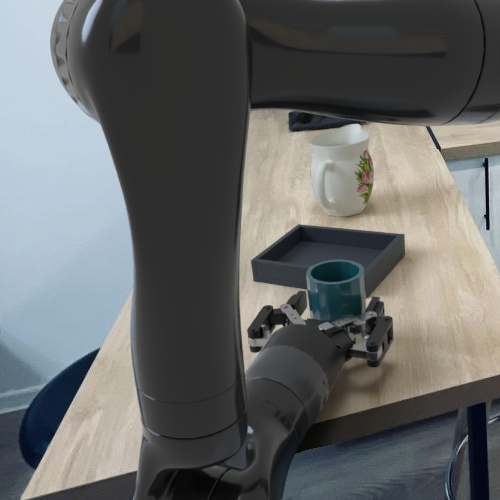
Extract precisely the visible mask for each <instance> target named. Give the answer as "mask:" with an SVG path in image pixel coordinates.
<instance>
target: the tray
mask: <svg viewBox="0 0 500 500" xmlns="http://www.w3.org/2000/svg"><path fill="white" fill-rule="evenodd" d="M405 240H406V239H405V233H395V232H386V231H385V232H384V231H375V230H364V229H354V228H353V229H352V228H341V227H333V226H332V227H331V226H323V225H322V226H321V225H310V224H301V223H298V224H296V225H295V226H294V227H292V228H291V229H290V230H288V231H287V232H286V233H285V234H284V235H282V236H281V237H280V238H278V239H277V240H276V241H274V242H273V243H272V244H270V245H269V246H268V247H266V248H265V249H264V250H262V251H261V252H259V254H257V255H256V256H255V257H254V258H252V259H251V260H250V264H251V271H252V279H253V282H259V283H265V284H272V285H278V286H284V287H291V288H296V289H297V288H298V289H303V290H304V289H305V290H308V289H307V279H306V273H307V270H308V269H309V268H310V267H311V266H313V265H315V264H317V263H320V262H324V261H329V260H350V261H354V262H356V263H359V264H360V265H361V266H362V267H363V268H364V279H365V294H366V299H367V298H368V297H370V295H371V294H372V293H373V291H374V290H375V289H377V287H378V286H379V285H380V284H381V283H382V282H383V281H384V279H385V278H386V277H387V276H388V275H389V274H390V273H391V271H392V270H393V269H394V268H395V267H396V266H397V265H398V263H400V261H401V260H402V259H403V258H404V256H406V241H405Z"/></svg>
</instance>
